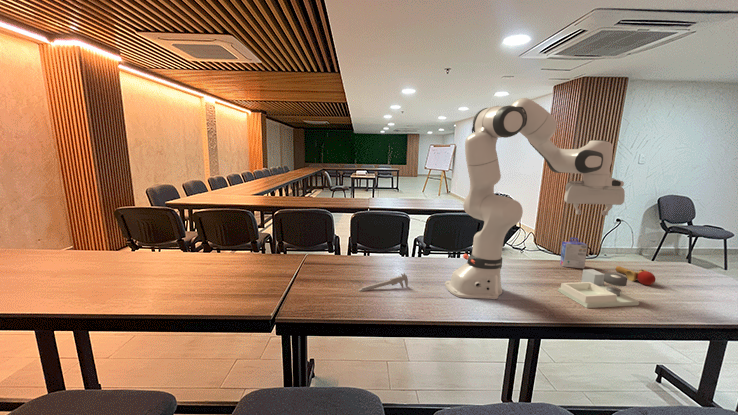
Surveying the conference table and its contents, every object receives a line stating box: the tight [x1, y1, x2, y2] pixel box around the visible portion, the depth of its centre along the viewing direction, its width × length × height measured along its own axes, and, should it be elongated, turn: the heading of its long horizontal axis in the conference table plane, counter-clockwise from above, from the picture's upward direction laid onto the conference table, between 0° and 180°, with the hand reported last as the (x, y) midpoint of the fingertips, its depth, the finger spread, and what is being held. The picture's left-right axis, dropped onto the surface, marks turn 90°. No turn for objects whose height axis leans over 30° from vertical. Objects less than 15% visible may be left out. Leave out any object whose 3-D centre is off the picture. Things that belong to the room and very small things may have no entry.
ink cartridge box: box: [559, 237, 588, 269], centre depth 155 cm, size 10×6×14 cm, turn 78°
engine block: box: [580, 268, 605, 286], centre depth 133 cm, size 5×6×6 cm
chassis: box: [557, 281, 640, 309], centre depth 120 cm, size 22×14×4 cm, turn 98°
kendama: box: [615, 265, 657, 286], centre depth 141 cm, size 8×6×18 cm
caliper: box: [358, 272, 409, 292], centre depth 124 cm, size 20×1×6 cm, turn 105°
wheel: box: [604, 272, 628, 287], centre depth 120 cm, size 7×7×3 cm
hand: (591, 214), depth 127 cm, fingers open, 8 cm apart
